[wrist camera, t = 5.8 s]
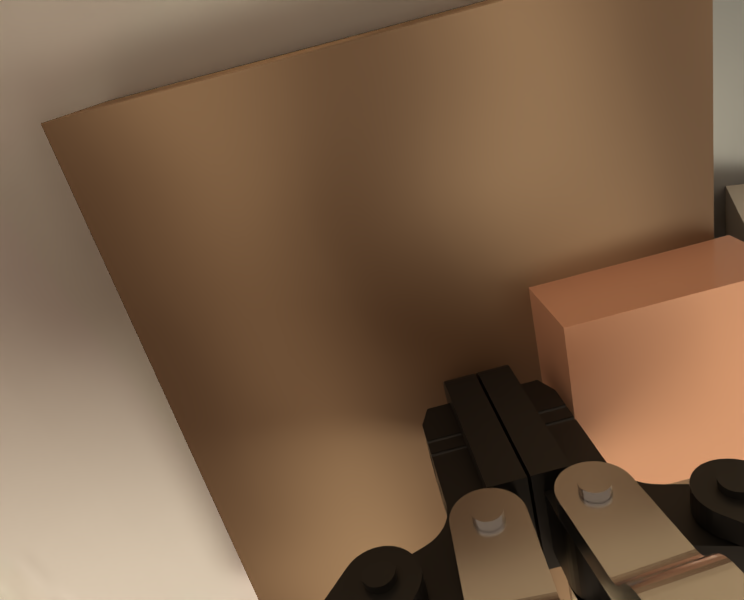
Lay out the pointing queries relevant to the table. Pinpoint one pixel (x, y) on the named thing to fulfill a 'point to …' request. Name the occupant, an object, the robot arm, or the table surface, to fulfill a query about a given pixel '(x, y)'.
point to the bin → (727, 103)
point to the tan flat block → (382, 242)
